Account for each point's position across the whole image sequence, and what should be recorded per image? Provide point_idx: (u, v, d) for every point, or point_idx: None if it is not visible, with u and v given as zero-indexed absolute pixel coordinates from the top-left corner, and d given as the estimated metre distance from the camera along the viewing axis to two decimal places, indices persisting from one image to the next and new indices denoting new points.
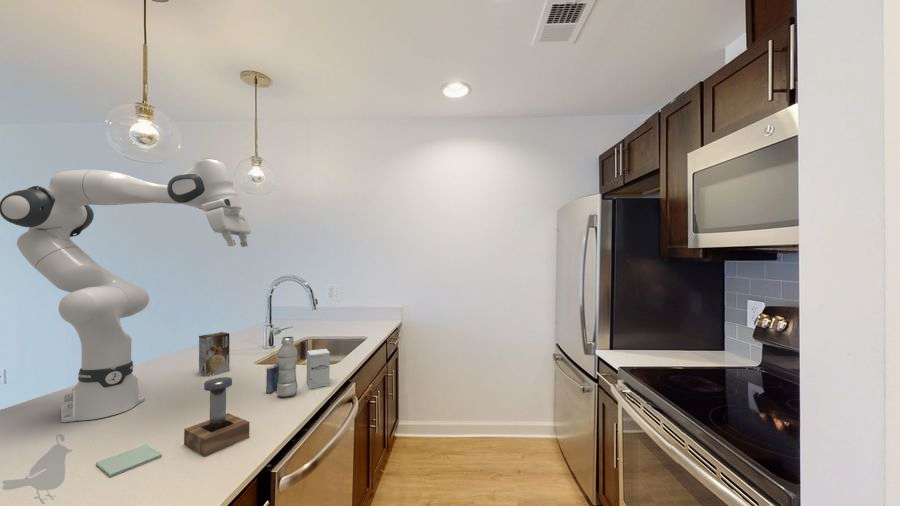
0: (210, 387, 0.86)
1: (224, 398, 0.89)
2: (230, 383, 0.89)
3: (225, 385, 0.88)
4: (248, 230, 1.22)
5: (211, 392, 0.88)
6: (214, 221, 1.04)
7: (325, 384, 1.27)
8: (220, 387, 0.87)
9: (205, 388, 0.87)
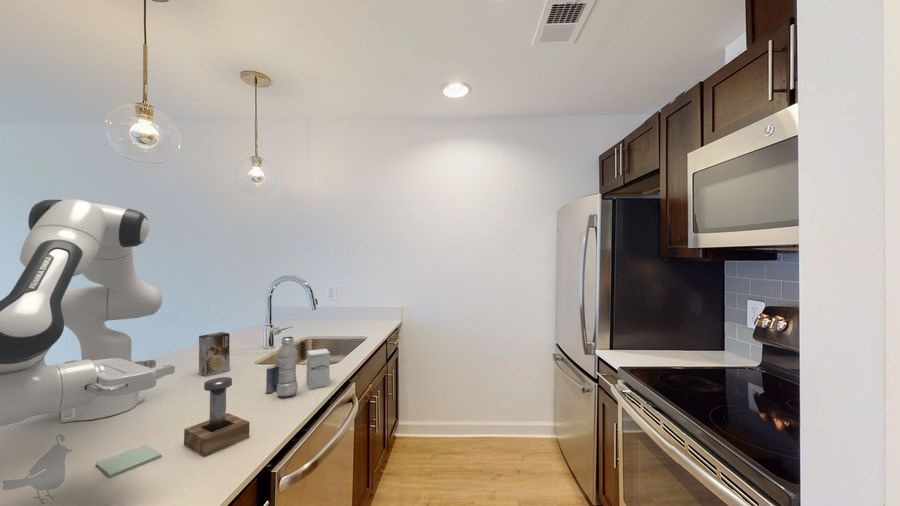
0: (210, 387, 0.86)
1: (224, 398, 0.89)
2: (230, 383, 0.89)
3: (225, 385, 0.88)
4: None
5: (211, 392, 0.88)
6: None
7: (325, 384, 1.27)
8: (220, 387, 0.87)
9: (205, 388, 0.87)
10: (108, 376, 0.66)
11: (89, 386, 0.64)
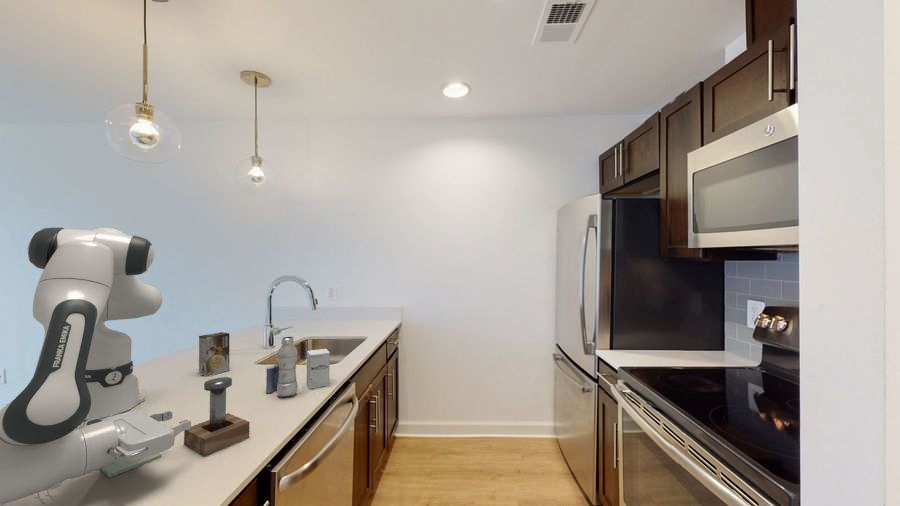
0: (210, 387, 0.86)
1: (224, 398, 0.89)
2: (230, 383, 0.89)
3: (225, 385, 0.88)
4: None
5: (211, 392, 0.88)
6: None
7: (325, 384, 1.27)
8: (220, 387, 0.87)
9: (205, 388, 0.87)
10: (129, 440, 0.69)
11: (111, 451, 0.67)
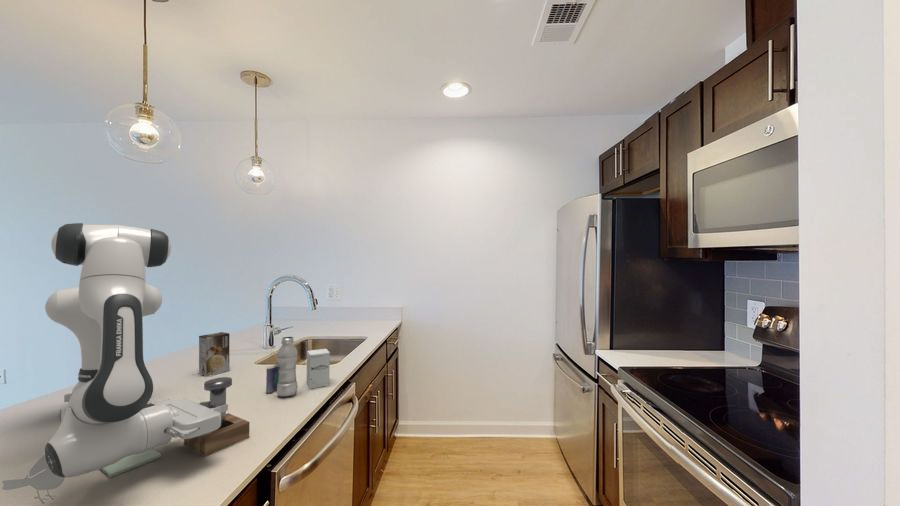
0: (210, 387, 0.86)
1: (224, 398, 0.89)
2: (230, 383, 0.89)
3: (225, 385, 0.88)
4: None
5: (211, 392, 0.88)
6: None
7: (325, 384, 1.27)
8: (220, 387, 0.87)
9: (205, 388, 0.87)
10: (183, 421, 0.77)
11: (168, 430, 0.75)
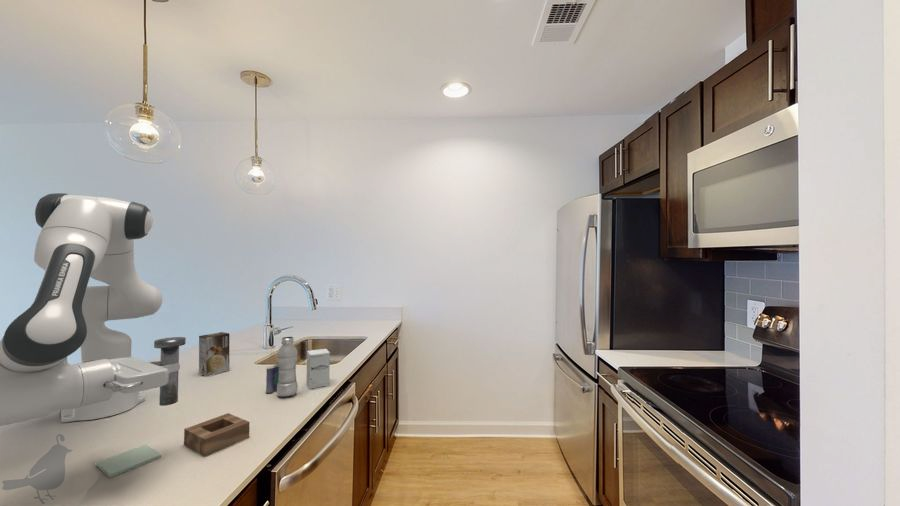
0: (160, 345, 0.81)
1: (176, 357, 0.84)
2: (183, 342, 0.85)
3: (177, 343, 0.83)
4: None
5: (162, 350, 0.83)
6: None
7: (325, 384, 1.27)
8: (171, 345, 0.82)
9: (155, 346, 0.82)
10: (125, 374, 0.72)
11: (108, 384, 0.70)
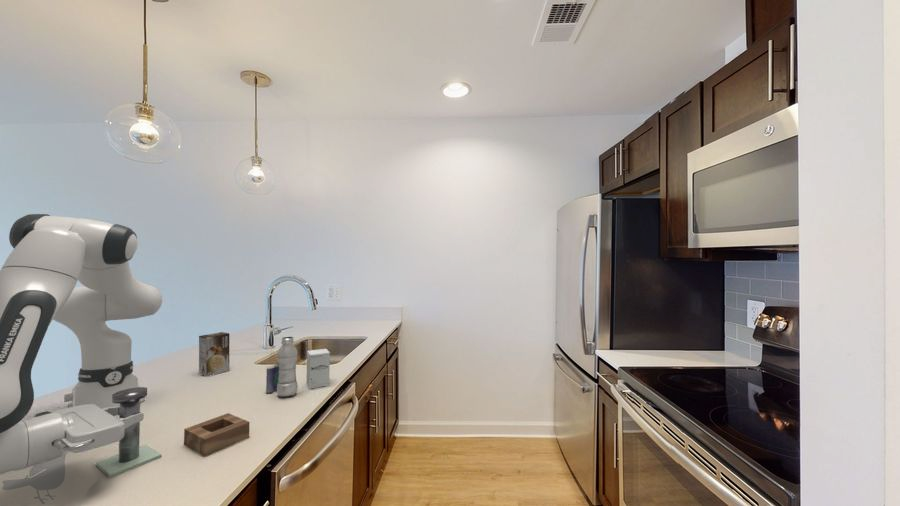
0: (117, 400, 0.77)
1: (136, 411, 0.80)
2: (144, 394, 0.80)
3: (136, 397, 0.79)
4: None
5: (120, 405, 0.78)
6: None
7: (325, 384, 1.27)
8: (130, 399, 0.78)
9: (112, 400, 0.77)
10: (75, 432, 0.68)
11: (56, 443, 0.66)
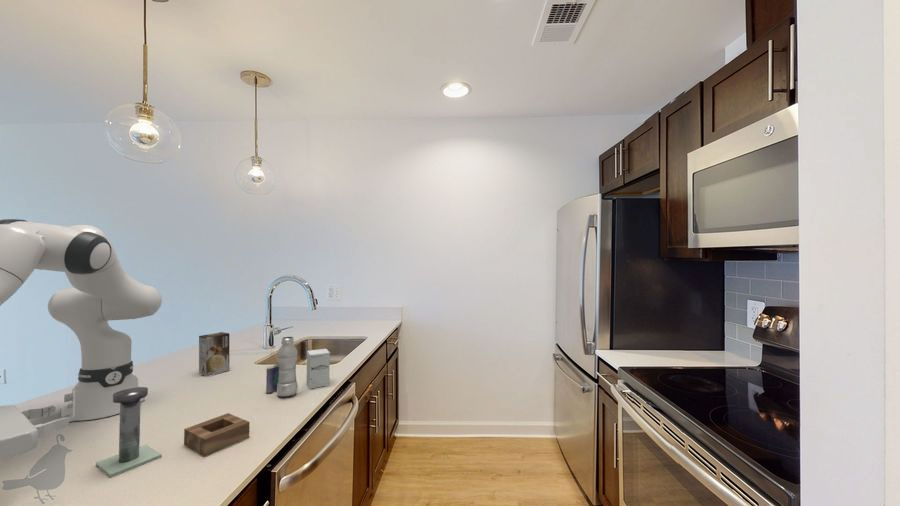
0: (118, 399, 0.77)
1: (137, 411, 0.80)
2: (144, 394, 0.81)
3: (137, 396, 0.79)
4: None
5: (121, 404, 0.79)
6: None
7: (325, 384, 1.27)
8: (131, 398, 0.78)
9: (113, 400, 0.78)
10: None
11: None
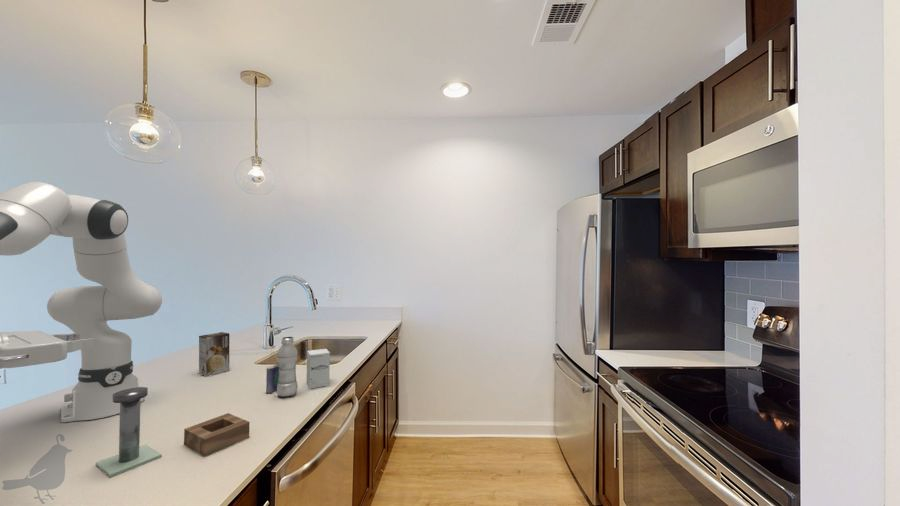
0: (118, 399, 0.77)
1: (137, 411, 0.80)
2: (144, 394, 0.81)
3: (137, 396, 0.79)
4: None
5: (121, 404, 0.79)
6: None
7: (325, 384, 1.27)
8: (131, 398, 0.78)
9: (113, 400, 0.78)
10: (7, 346, 0.59)
11: None
